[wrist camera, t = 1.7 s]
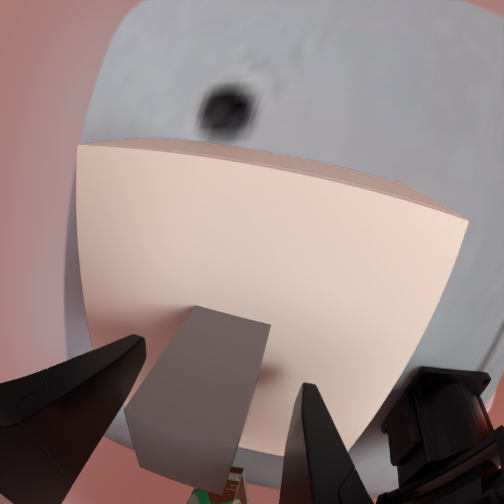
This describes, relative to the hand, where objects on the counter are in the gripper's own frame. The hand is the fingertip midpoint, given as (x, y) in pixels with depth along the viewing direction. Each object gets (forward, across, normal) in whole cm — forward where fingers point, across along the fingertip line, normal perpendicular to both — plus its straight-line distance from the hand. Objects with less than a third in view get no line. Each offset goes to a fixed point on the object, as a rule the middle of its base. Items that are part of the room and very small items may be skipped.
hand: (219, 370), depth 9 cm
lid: (+2, 0, 0) cm, 2 cm away
